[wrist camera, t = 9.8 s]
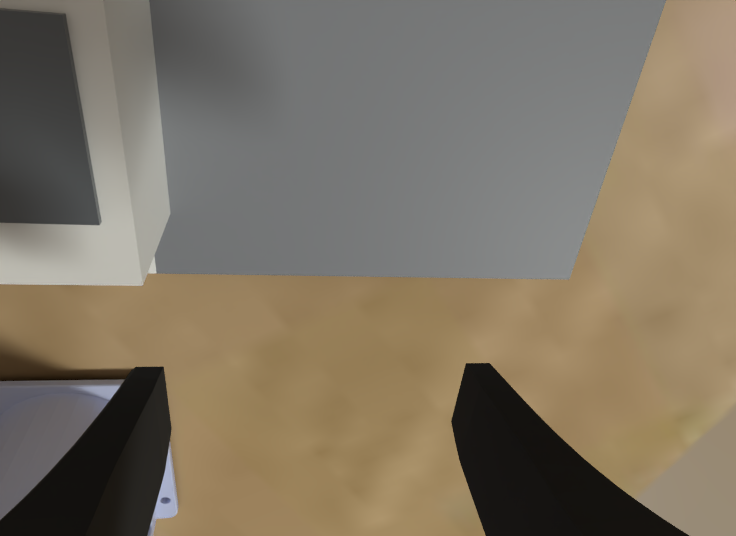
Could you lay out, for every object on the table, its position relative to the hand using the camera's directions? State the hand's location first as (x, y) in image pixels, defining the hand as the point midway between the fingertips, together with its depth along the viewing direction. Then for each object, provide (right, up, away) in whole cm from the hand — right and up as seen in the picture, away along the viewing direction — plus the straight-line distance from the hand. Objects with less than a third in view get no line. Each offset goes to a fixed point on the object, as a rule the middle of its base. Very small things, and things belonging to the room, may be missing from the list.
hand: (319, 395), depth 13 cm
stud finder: (-7, +9, +3) cm, 12 cm away
